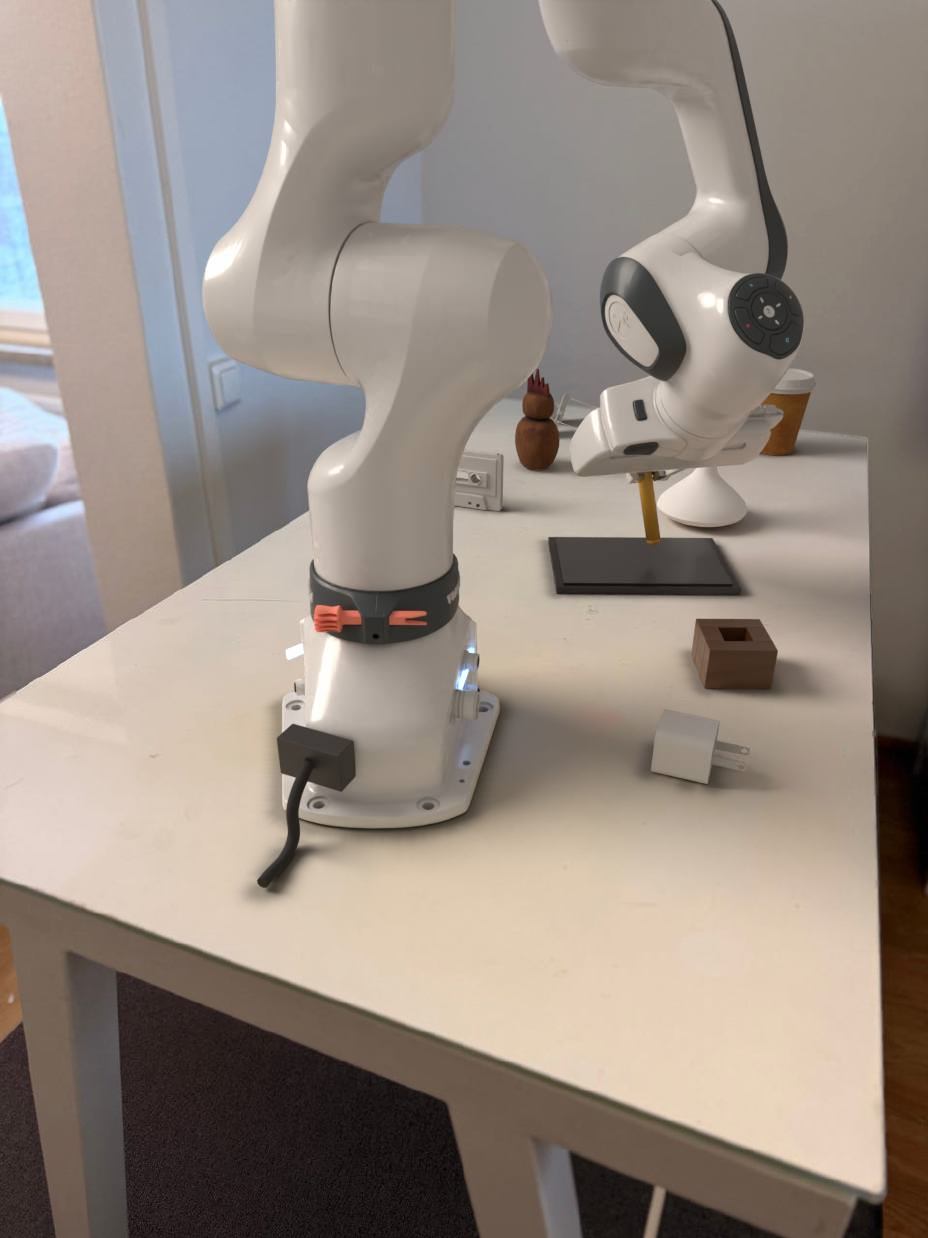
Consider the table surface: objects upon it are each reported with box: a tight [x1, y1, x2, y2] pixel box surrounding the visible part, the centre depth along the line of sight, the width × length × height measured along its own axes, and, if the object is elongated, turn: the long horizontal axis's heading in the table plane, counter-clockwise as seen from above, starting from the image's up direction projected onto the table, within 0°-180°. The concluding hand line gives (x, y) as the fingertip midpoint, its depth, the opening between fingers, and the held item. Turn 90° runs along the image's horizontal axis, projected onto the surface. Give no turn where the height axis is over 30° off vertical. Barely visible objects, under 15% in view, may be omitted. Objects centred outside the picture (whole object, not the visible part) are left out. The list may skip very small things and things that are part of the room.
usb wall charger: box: [650, 708, 751, 785], centre depth 70 cm, size 4×7×4 cm, turn 69°
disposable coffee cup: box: [759, 367, 817, 456], centre depth 141 cm, size 10×10×12 cm
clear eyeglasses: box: [550, 392, 596, 430], centre depth 152 cm, size 14×8×5 cm, turn 160°
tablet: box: [547, 536, 742, 596], centre depth 104 cm, size 14×20×1 cm
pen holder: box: [690, 618, 779, 690], centre depth 83 cm, size 6×6×4 cm
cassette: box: [454, 448, 505, 512], centre depth 121 cm, size 12×2×8 cm, turn 68°
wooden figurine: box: [514, 368, 561, 471], centre depth 133 cm, size 7×6×15 cm
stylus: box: [637, 471, 661, 546], centre depth 101 cm, size 2×2×15 cm
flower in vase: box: [656, 466, 748, 528], centre depth 113 cm, size 13×11×25 cm
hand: (645, 476), depth 100 cm, fingers closed on stylus, 2 cm apart
